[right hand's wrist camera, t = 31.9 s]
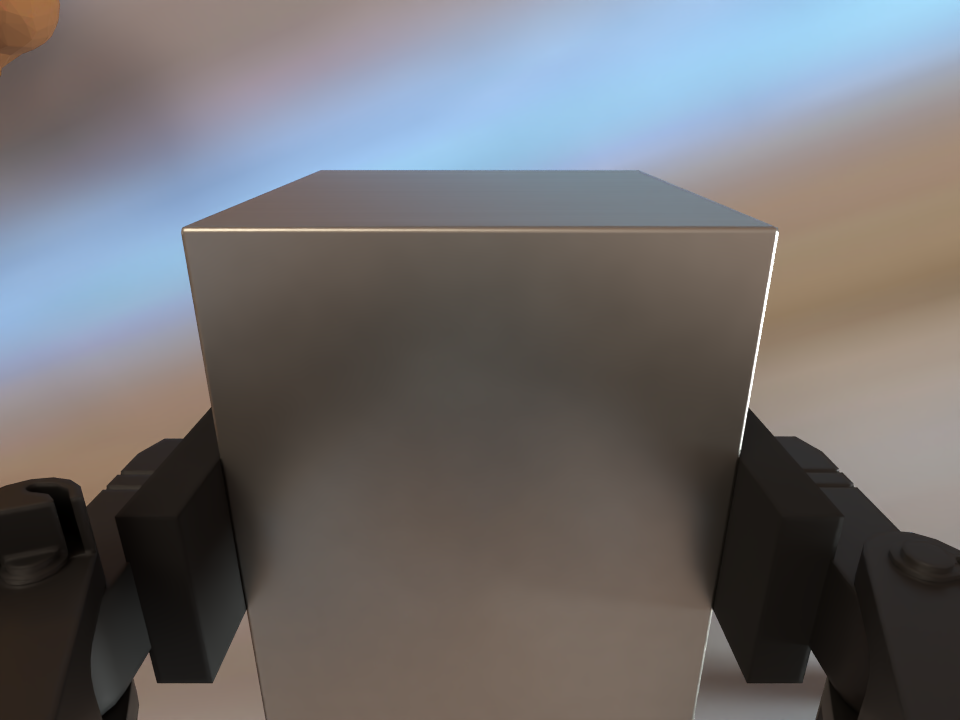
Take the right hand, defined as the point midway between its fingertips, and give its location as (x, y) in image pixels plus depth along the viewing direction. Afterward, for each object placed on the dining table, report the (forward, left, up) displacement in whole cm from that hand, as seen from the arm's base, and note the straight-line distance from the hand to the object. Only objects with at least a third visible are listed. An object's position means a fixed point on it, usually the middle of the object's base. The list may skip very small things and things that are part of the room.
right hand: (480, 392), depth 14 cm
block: (0, 0, -2) cm, 2 cm away
